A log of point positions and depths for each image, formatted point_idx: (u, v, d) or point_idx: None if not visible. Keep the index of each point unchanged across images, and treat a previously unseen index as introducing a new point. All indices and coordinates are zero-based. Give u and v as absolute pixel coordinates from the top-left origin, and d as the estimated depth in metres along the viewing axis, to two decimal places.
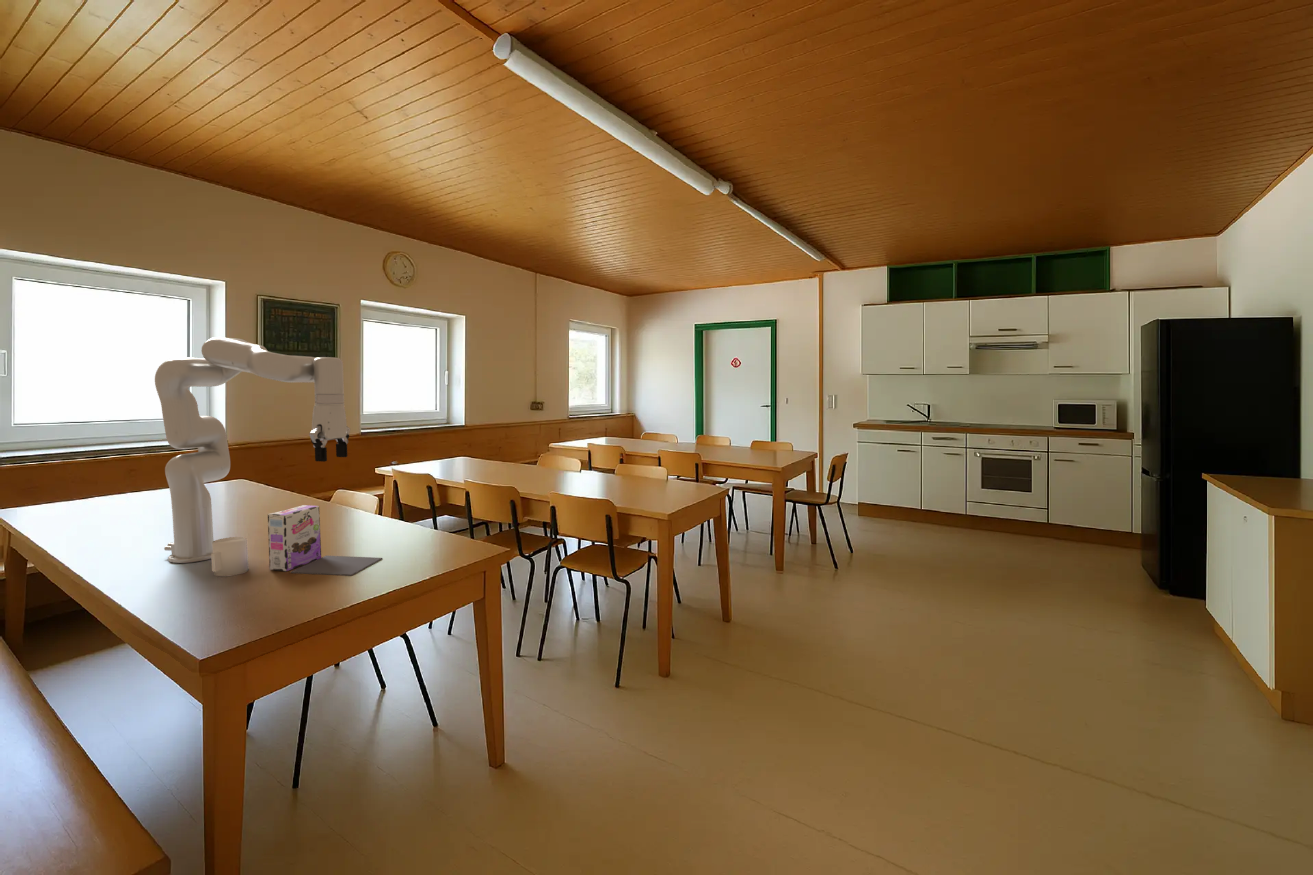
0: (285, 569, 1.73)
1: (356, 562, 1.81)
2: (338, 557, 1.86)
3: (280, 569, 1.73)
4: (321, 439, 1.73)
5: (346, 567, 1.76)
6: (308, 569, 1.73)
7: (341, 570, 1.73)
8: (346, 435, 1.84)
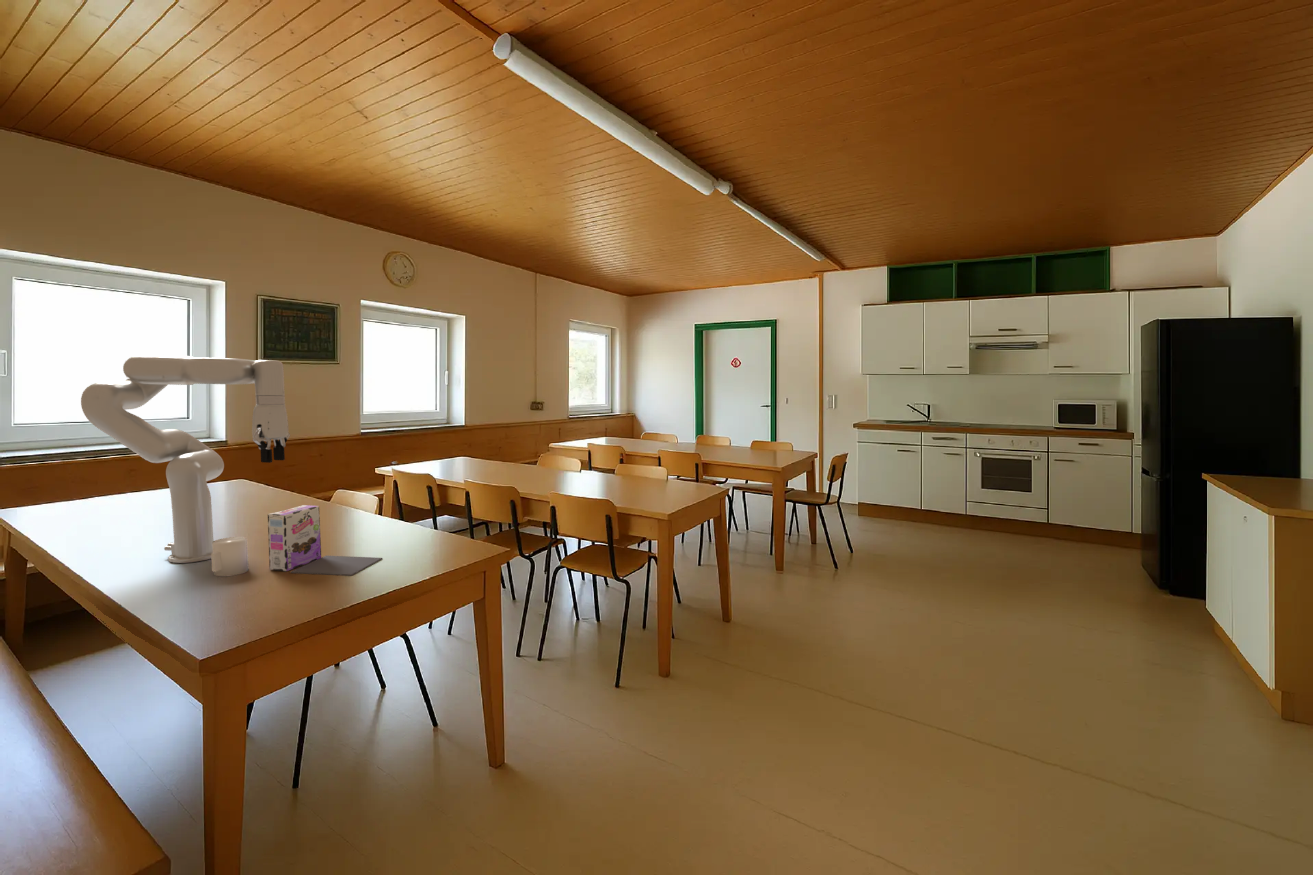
0: (285, 569, 1.73)
1: (356, 562, 1.81)
2: (338, 557, 1.86)
3: (280, 569, 1.73)
4: (265, 440, 1.83)
5: (346, 567, 1.76)
6: (308, 569, 1.73)
7: (341, 570, 1.73)
8: (284, 439, 1.90)
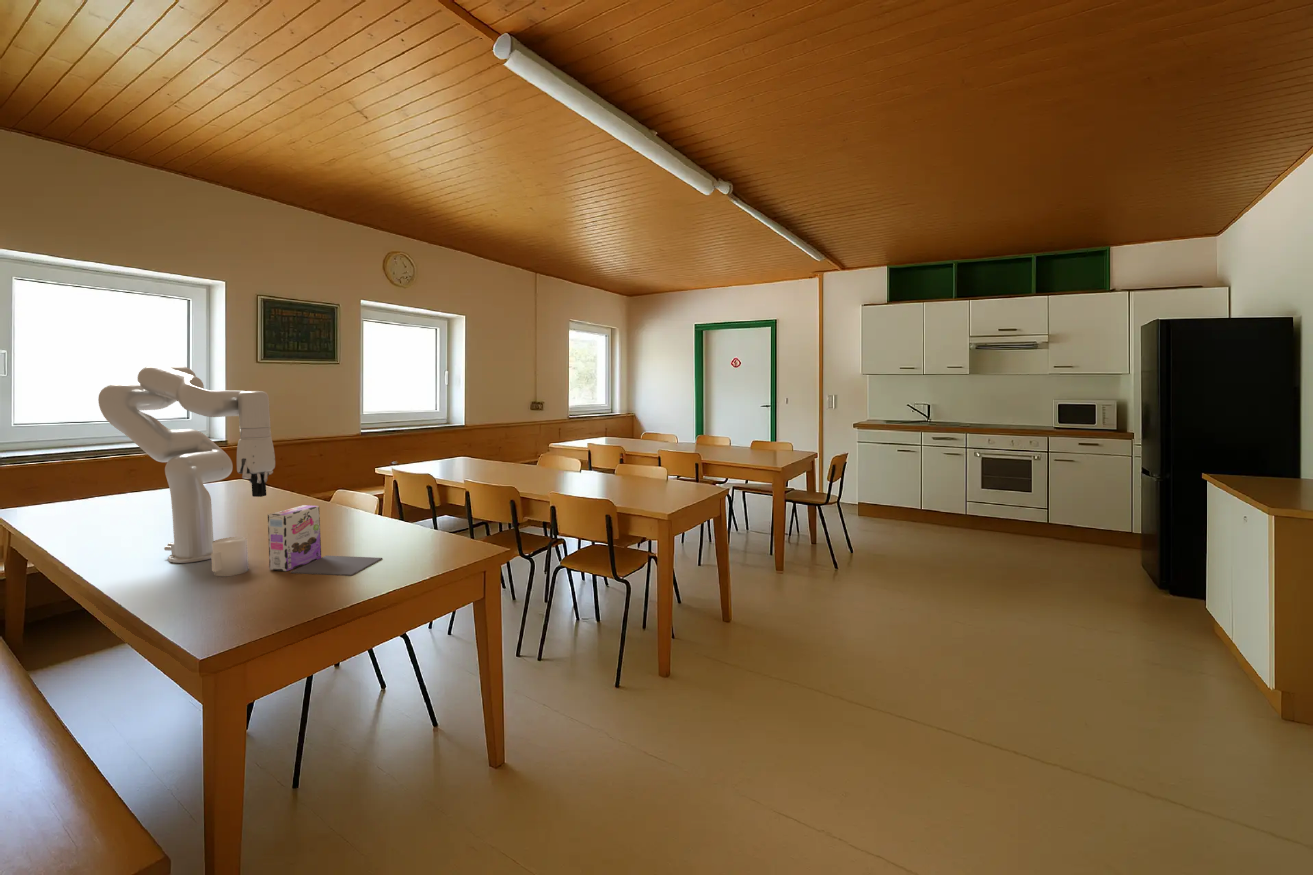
0: (285, 569, 1.73)
1: (356, 562, 1.81)
2: (338, 557, 1.86)
3: (280, 569, 1.73)
4: None
5: (346, 567, 1.76)
6: (308, 569, 1.73)
7: (341, 570, 1.73)
8: None
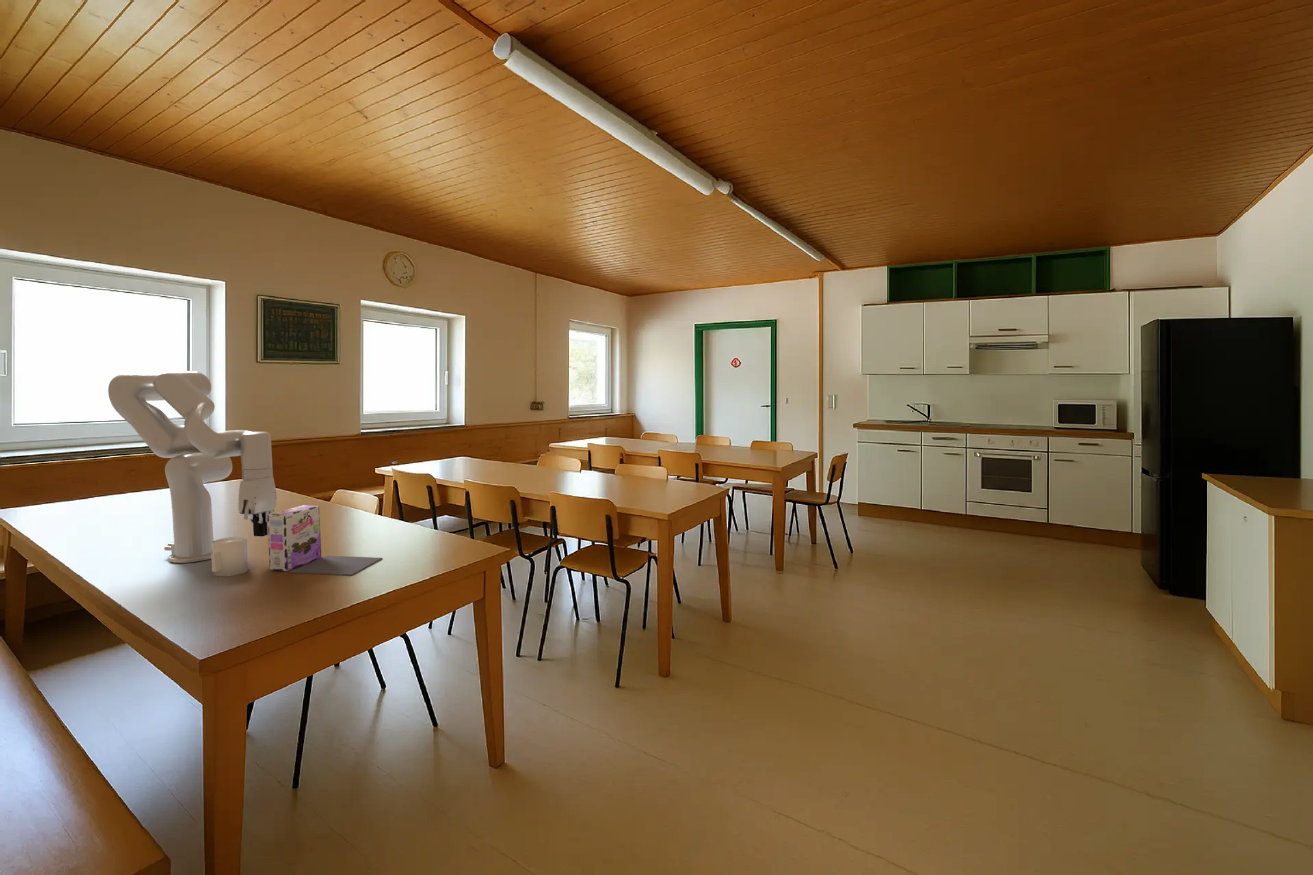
0: (285, 569, 1.73)
1: (356, 562, 1.81)
2: (338, 557, 1.86)
3: (280, 569, 1.73)
4: None
5: (346, 567, 1.76)
6: (308, 569, 1.73)
7: (341, 570, 1.73)
8: None
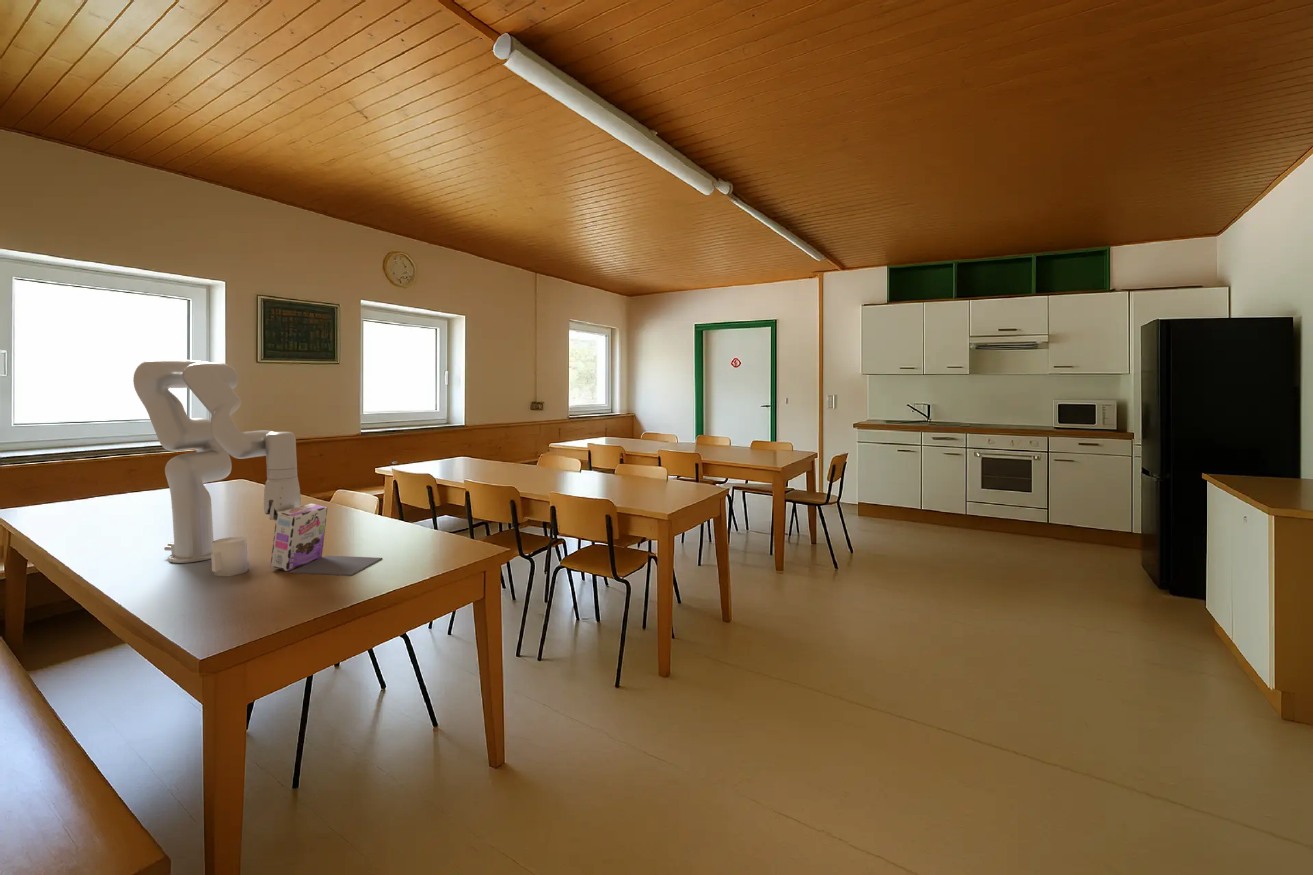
0: (286, 569, 1.73)
1: (356, 562, 1.81)
2: (338, 557, 1.86)
3: (281, 568, 1.73)
4: None
5: (346, 567, 1.76)
6: (308, 569, 1.73)
7: (341, 570, 1.73)
8: None
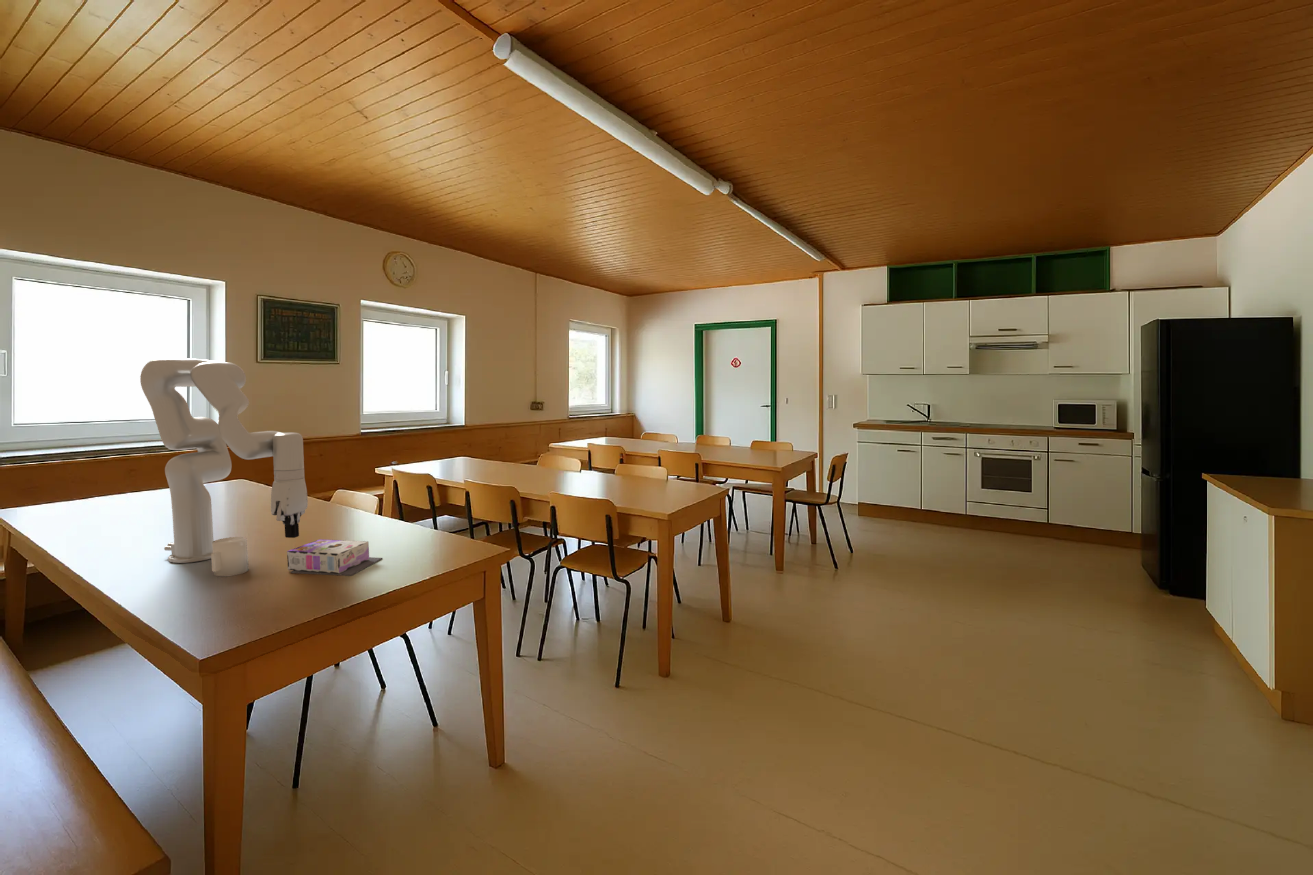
0: (289, 569, 1.73)
1: None
2: None
3: (288, 563, 1.72)
4: None
5: None
6: None
7: None
8: None
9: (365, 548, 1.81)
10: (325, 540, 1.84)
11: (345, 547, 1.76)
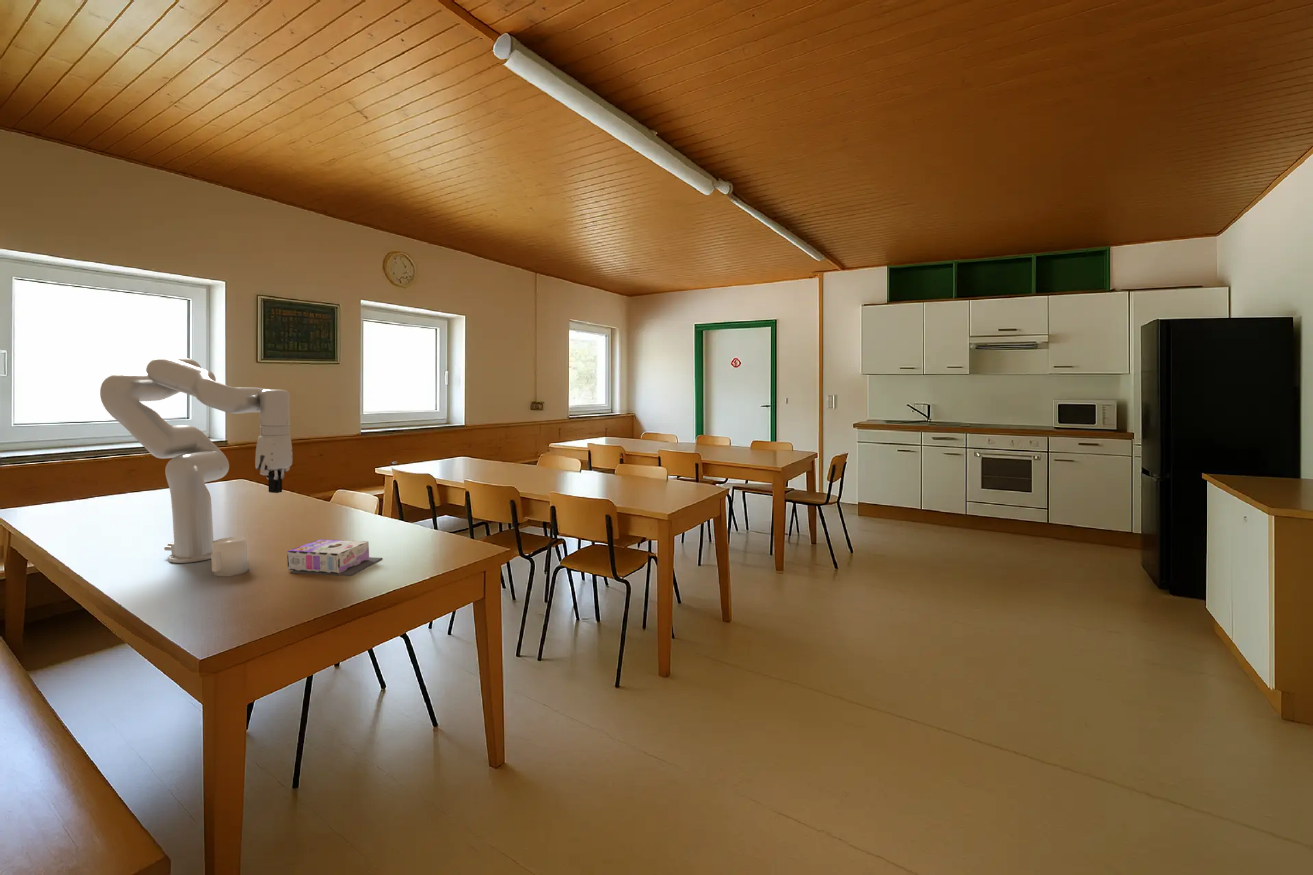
0: (289, 569, 1.73)
1: None
2: None
3: (288, 563, 1.72)
4: None
5: None
6: None
7: None
8: None
9: (365, 548, 1.81)
10: (325, 540, 1.84)
11: (345, 547, 1.76)
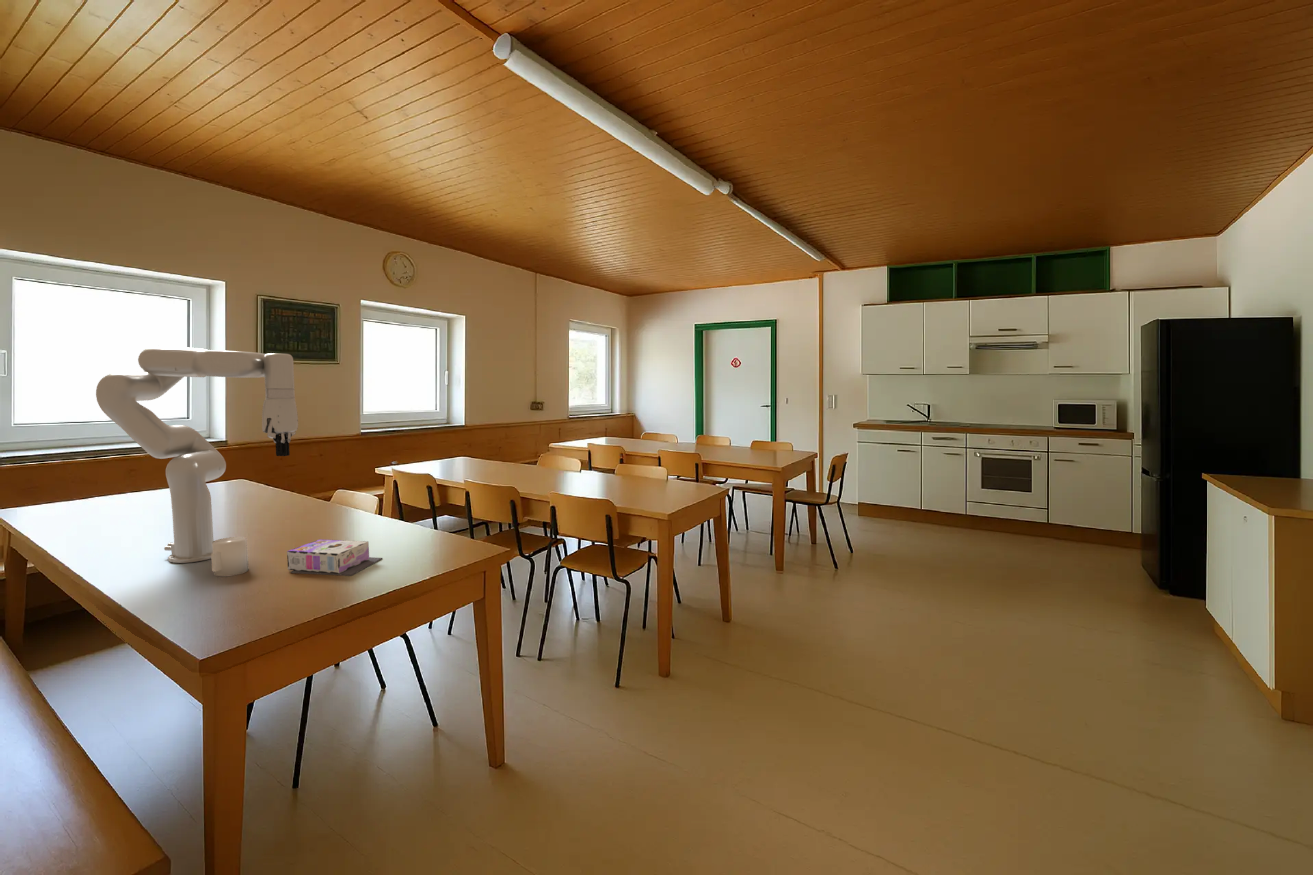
0: (289, 569, 1.73)
1: None
2: None
3: (288, 563, 1.72)
4: None
5: None
6: None
7: None
8: None
9: (365, 548, 1.81)
10: (325, 540, 1.84)
11: (345, 547, 1.76)
